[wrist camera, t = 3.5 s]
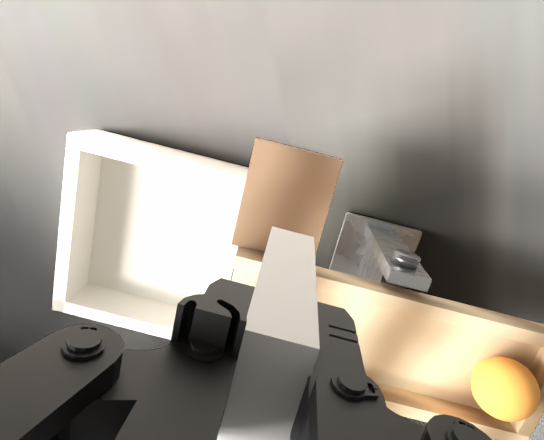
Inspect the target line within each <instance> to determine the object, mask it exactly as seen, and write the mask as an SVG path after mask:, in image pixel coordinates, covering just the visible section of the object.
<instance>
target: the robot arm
mask: <svg viewBox="0 0 544 440" xmlns="http://www.w3.org/2000/svg"><path fill="white" fill-rule="evenodd" d="M358 342H359V341H358V336H357V334H356V327H355V322H354V320H353V318H352V317H351V316H350V315H349V313H348V312H347V311H346V310H345V309H344V308H340V307H336V306H332V305H328V304H325V303H321V302H317V286H316V266H315V246H314V237H311V236H307V235H304V234H300V233H296V232H292V231H288V230H284V229H280V228H276V227H273V226H272V228H271V232H270V236H269V239H268V243H267V246H266V250H265V253H264V257H263V260H262V264H261V267H260V271H259V275H258V278H257V282H256V285H255V287H254V286H250V285H246V284H242V283H238V282H234V281H231V280H227V279H223V278H220V279H218V280H216V281H214V282H213V283H211V284H209V286H208V288H207V290H206V291H205V293H204V294H195V295H192V296H188V297H185V298H183V299H182V300H181V301H180V302H179V303H178V304H177V310H176V315H175V320H174V325H173V330H172V336H171V341H170V343H169V345H168V346H166V347H164V348H160V349H155V350H123V347H124V342H123V340H122V339H121V337H120V335H119V334H117V333H116V332H114V331H113V330H111V329H110V328H106V327H103V326H99V325H90V324H80V325H74V326H68V327H65V328H63V329H60V330H58V331H55V332H53V333H51V334H50V335H48V336H46V337H45V338H43V339H41V340H39V341H38V342H36V343H34V344H33V345H31V346H29V347H27V348H26V349H24V350H22V351H21V352H19V353H17V354H15V355H14V356H12V357H10V358H9V359H7V360H5V361H3V362H2V363H0V440H492V439H491V438H490V437H489V436H488V435H487V434H485V433H484V432H483V431H481V430H480V429H478V428H477V427H476V426H475V425H473V424H471V423H469V422H468V421H465V420H463V419H461V418H458V417H454V416H450V415H446V414H443V415H435V416H433V417H432V418H431V419H430V420H429V421H428V423H427V425H426V427H425V428H424V427H422V426H420V425H418V424H416V423H414V422H412V421H410V420H408V419H406V418H404V417H402V416H400V415H398V414H397V413H395V412H393V411H391V410H390V409H389V408H387V406H386V403H385V399H384V396H383V394H382V392H381V390H380V388H379V386H378V385H377V384H376V383H375V382H374V381H373V380H372V379H371V378H370V377H369V376H367V375H366V374H365V369H364V364H363V360H362V355H361V350H360V346H359V344H358Z"/></svg>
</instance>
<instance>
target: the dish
mask: <svg viewBox="0 0 544 440" xmlns="http://www.w3.org/2000/svg"><path fill="white" fill-rule="evenodd" d="M248 168H249V167H245V166H241V165H237V164H233V163H229V162H225V161H221V160H217V159H213V158H209V157H206V156H202V155H198V154H194V153H190V152H186V151H182V150H178V149H174V148H170V147H166V146H162V145H158V144H154V143H150V142H147V141H143V140H139V139H135V138H131V137H127V136H123V135H119V134H115V133H111V132H107V131H103V130H99V129H90V130H82V131H74V132H67V141H66V152H65V163H64V175H63V186H62V197H61V209H60V220H59V231H58V243H57V254H56V265H55V277H54V288H53V299H52V310H55V311H59V312H63V313H67V314H71V315H75V316H78V317H82V318H86V319H90V320H94V321H98V322H102V323H106V324H110V325H114V326H118V327H122V328H126V329H130V330H133V331H137V332H141V333H145V334H149V335H153V336H157V337H161V338H165V339H169V340H171V336H172V330H173V325H174V320H175V315H176V310H177V304H178V303H179V302H180V301H181V300H182V299H183V298H185V297H188V296H192V295H195V294H204V293H205V291H206V290H207V288H208V286H209V284H211V283H213V282H214V281H216V280H218V279H220V278H223V279H227V280H232V276H233V272H234V269H232V268H233V264H234V259H235V255H236V253H237V251H238V248H239V246H235V245H231V243H232V239H233V234H234V230H235V226H236V221H237V217H238V212H239V208H240V204H241V199H242V195H243V190H244V186H245V181H246V177H247V173H248Z"/></svg>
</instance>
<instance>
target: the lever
mask: <svg viewBox="0 0 544 440" xmlns="http://www.w3.org/2000/svg"><path fill="white" fill-rule="evenodd" d="M342 164H343V160H342V159H341V158H337V157H333V156H329V155H325V154H322V153H318V152H314V151H310V150H306V149H302V148H298V147H294V146H290V145H286V144H282V143H278V142H274V141H270V140H266V139H262V138H259V137H257V138H255V142H254V146H253V151H252V155H251V159H250V164H249V168H248V173H247V177H246V181H245V186H244V190H243V195H242V199H241V204H240V208H239V212H238V217H237V221H236V226H235V230H234V234H233V239H232V243H231V245H235V246H239V248H238V251H237V253H236V255H235V259H234V264H233V268H232V269H234V272H233V276H232V280H231V281H234V282H238V283H242V284H246V285H250V286H254V287H255V285H256V282H257V278H258V275H259V271H260V267H261V264H262V260H263V257H264V253H265V250H266V246H267V243H268V239H269V236H270V232H271V228H272V226H273V227H276V228H280V229H284V230H288V231H292V232H296V233H300V234H304V235H307V236H311V237H314V246H315V255H316V251H317V248H318V245H319V241H320V238H321V235H322V231H323V228H324V224H325V221H326V218H327V214H328V211H329V208H330V204H331V201H332V197H333V194H334V191H335V187H336V184H337V180H338V177H339V174H340V170H341V167H342ZM316 286H317V302H321V303H325V304H328V305H332V306H336V307H340V308H344V309H345V310H346V311H347V312H348V313H349V315H350V316H351V317H352V318H353V320H354V322H355V327H356V334H357V336H358V341H359V342H358V344H359V346H360V350H361V355H362V360H363V364H364V369H365V374H366V375H367V376H369V377H370V378H371V379H372V380H373V381H374V382H375V383H376V384H377V385H378V386H379V388H380V390H381V392H382V394H383V396H384V399H385V403H386V406H387V408H389V409H390V410H391V411H393V412H395V413H397V414H398V415H400V416H404V417H408V418H411V419H415V420H419V421H423V422H427V423H428V421H429V420H430V419H431V418H432V417H433V416H435V415H443V414H446V415H450V416H454V417H458V418H461V419H463V420H465V421H468V422H469V423H471V424H473V425H475V426H476V427H477V428H478V429H480V430H481V431H483V432H484V433H485V434H487V435H488V436H489V437H490V438H491V439H494V440H529V438H530V436H531V435H532V433H533V431H534V429H535V427H536V426H537V424H538V422H539V420H540V418H541V416H542V415H543V413H544V324H542V323H538V322H534V321H530V320H526V319H522V318H518V317H514V316H511V315H507V314H503V313H499V312H495V311H491V310H487V309H483V308H479V307H475V306H471V305H467V304H463V303H459V302H455V301H452V300H448V299H444V298H440V297H436V296H432V295H428V294H424V293H420V292H416V291H412V290H408V289H404V288H400V287H396V286H393V285H389V284H385V283H381V282H377V281H373V280H369V279H365V278H361V277H357V276H353V275H349V274H345V273H341V272H337V271H334V270H330V269H326V268H322V267H318V266H316ZM498 356H499V357H507V358H511V359H514V360H516V361H518V362H520V363H521V364H523V365H524V366H525V367H527V368H528V369H529V370H530V372H531V373H532V374H533V375H534V377H535V378H536V380H537V382H538V385H539V389H540V402H539V405H538V408H537V409H536V411H535V412H534V413H533V414H532V415H531V416H530V417H528V418H527V419H524V420H522V421H518V422H507V421H502V420H499V419H496V418H494V417H492V416H491V415H489V414H488V413H486V412H485V411H484V410H483V409H482V408H481V407H480V406H479V405H478V403H477V402H476V400H475V398H474V396H473V393H472V390H471V376H472V373H473V371H474V369H475V367H476V366H477V365H478V364H479V363H480V362H482V361H483V360H485V359H487V358H491V357H498Z"/></svg>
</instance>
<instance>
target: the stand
mask: <svg viewBox="0 0 544 440" xmlns="http://www.w3.org/2000/svg"><path fill="white" fill-rule="evenodd" d="M421 235H422V232H421V231H420V230H416V229H412V228H408V227H404V226H401V225H397V224H393V223H389V222H385V221H381V220H377V219H373V218H369V217H365V216H361V215H357V214H353V213H349V212H346V214H345V218H344V221H343V224H342V227H341V231H340V234H339V237H338V240H337V243H336V247H335V250H334V253H333V256H332V260H331V263H330V266H329V269H330V270H334V271H337V272H341V273H345V274H349V275H353V276H357V277H361V278H365V279H369V280H373V281H377V282H381V283H385V284H389V285H393V286H396V287H400V288H405V287H408V288H412V289H416V290H420V291H424V292H428V289H429V287H430V284H431V281H432V279H431V278H430V276H429V275H428V274H427V272H426V271H425V270H424V268H423V267H422V266H421V264H420V261H421V258H420V257H419V256H418V255H416V254H415V251H416V249H417V246H418V243H419V241H420V238H421Z"/></svg>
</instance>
